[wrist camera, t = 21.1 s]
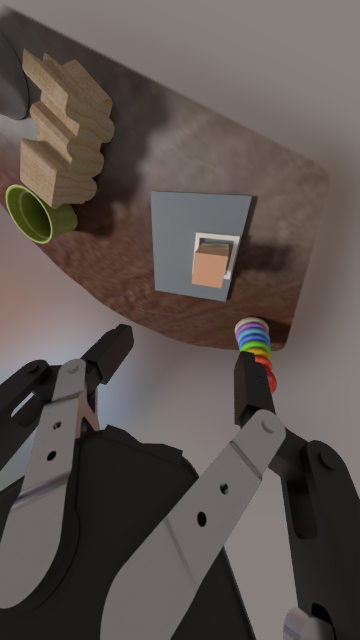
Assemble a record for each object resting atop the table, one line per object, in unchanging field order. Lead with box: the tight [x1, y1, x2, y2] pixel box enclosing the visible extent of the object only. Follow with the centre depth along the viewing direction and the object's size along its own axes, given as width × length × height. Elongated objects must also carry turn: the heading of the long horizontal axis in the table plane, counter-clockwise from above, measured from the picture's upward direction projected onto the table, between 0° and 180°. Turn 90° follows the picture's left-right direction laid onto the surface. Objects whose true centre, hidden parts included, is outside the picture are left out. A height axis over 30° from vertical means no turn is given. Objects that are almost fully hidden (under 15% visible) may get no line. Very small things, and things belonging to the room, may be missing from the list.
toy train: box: [20, 48, 115, 209], centre depth 25 cm, size 6×17×10 cm, turn 140°
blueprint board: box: [151, 191, 252, 302], centre depth 34 cm, size 18×20×2 cm
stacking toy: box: [235, 317, 277, 394], centre depth 34 cm, size 8×8×19 cm
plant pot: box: [6, 185, 78, 243], centre depth 34 cm, size 9×9×9 cm
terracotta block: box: [192, 246, 229, 288], centre depth 27 cm, size 5×5×5 cm
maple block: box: [200, 242, 229, 249], centre depth 31 cm, size 5×5×5 cm
